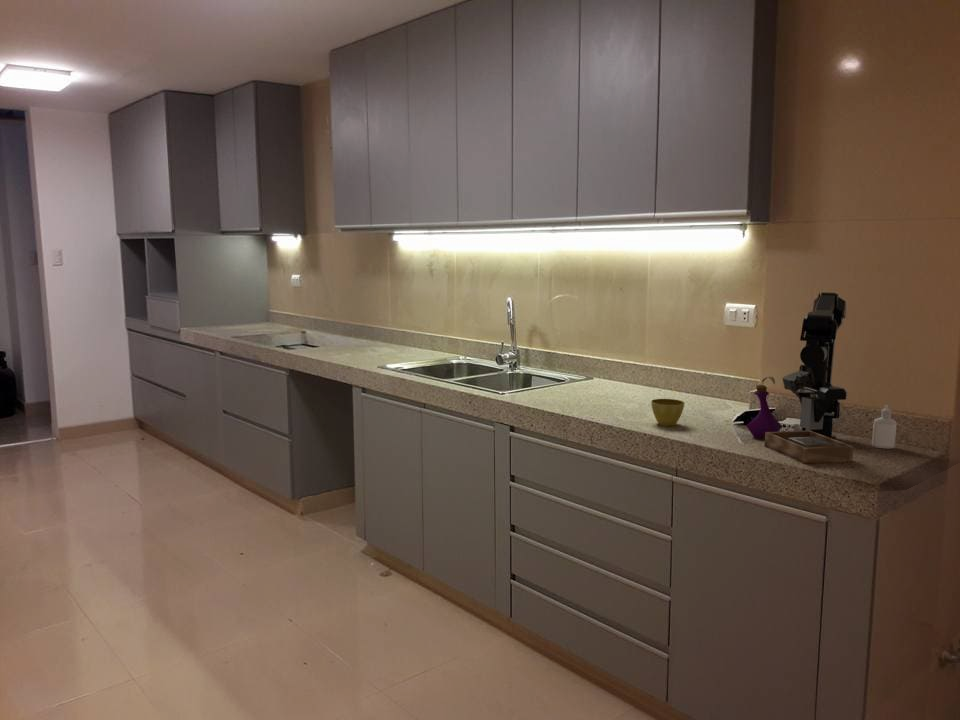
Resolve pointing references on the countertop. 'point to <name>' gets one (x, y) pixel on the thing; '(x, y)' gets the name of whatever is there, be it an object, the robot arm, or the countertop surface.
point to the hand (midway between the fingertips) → (811, 420)
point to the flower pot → (667, 411)
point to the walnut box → (808, 455)
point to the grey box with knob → (809, 414)
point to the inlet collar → (810, 442)
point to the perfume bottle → (763, 415)
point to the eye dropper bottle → (884, 430)
